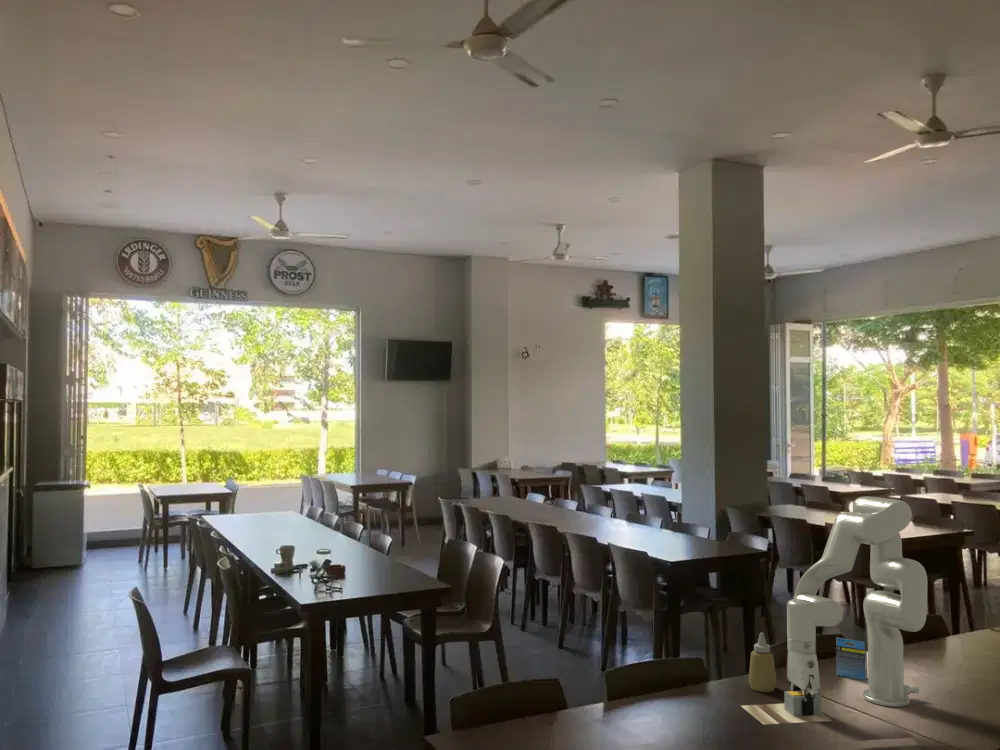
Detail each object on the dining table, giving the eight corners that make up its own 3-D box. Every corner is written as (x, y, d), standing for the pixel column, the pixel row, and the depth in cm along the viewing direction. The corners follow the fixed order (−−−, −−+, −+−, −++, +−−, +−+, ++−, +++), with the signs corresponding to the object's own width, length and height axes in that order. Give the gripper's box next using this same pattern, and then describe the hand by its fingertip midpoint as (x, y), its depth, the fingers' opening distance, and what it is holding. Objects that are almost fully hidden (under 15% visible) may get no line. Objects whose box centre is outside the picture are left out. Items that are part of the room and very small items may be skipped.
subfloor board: (806, 707, 232) (806, 702, 232) (833, 726, 218) (833, 720, 218) (740, 711, 229) (740, 705, 229) (763, 730, 215) (763, 724, 215)
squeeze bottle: (778, 698, 239) (777, 637, 240) (750, 696, 241) (749, 635, 242) (774, 689, 247) (773, 630, 248) (747, 688, 249) (746, 628, 249)
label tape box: (867, 677, 259) (867, 638, 260) (865, 681, 256) (865, 641, 256) (838, 672, 264) (837, 634, 264) (836, 676, 260) (835, 637, 261)
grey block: (811, 708, 227) (810, 689, 228) (820, 714, 223) (820, 695, 223) (784, 709, 226) (784, 690, 227) (793, 716, 221) (793, 696, 222)
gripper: (830, 653, 217) (831, 722, 217) (798, 636, 234) (799, 699, 233) (804, 654, 216) (805, 723, 215) (774, 637, 233) (775, 701, 232)
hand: (802, 710), depth 224 cm, fingers closed on grey block, 5 cm apart
